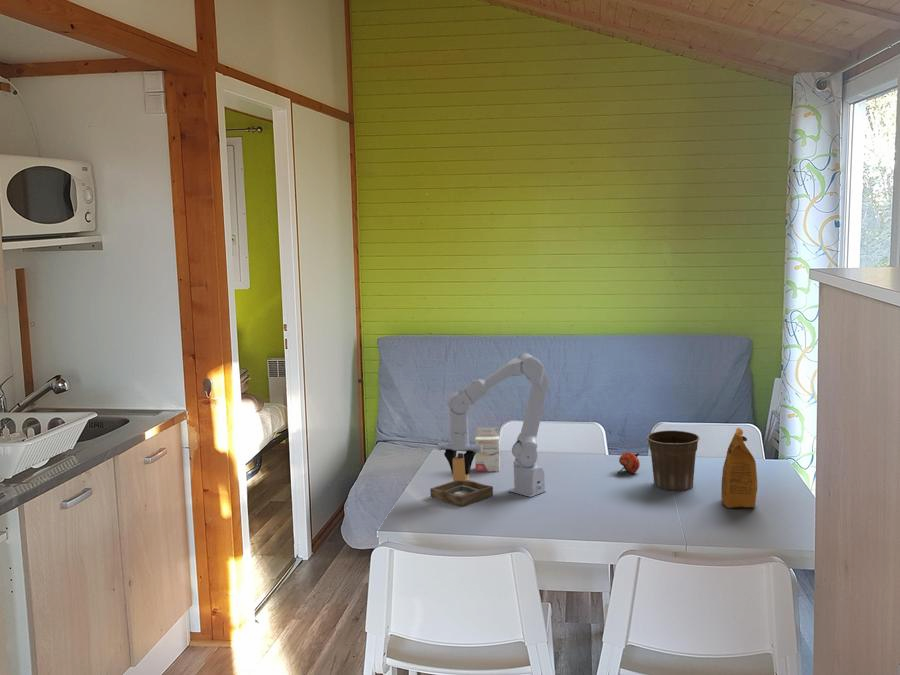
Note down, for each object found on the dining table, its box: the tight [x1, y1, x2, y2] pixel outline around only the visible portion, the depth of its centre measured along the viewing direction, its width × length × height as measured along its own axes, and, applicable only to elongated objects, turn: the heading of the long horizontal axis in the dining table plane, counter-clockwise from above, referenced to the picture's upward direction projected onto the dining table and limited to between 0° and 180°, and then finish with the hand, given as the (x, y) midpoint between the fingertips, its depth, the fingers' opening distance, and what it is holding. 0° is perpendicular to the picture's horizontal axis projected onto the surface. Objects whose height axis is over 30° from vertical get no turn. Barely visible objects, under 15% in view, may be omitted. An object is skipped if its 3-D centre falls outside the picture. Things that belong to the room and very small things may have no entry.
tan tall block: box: [452, 452, 470, 481], centre depth 269 cm, size 4×4×8 cm
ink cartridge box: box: [474, 427, 501, 472], centre depth 298 cm, size 9×5×15 cm, turn 84°
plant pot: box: [646, 430, 700, 492], centre depth 272 cm, size 16×16×16 cm
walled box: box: [429, 479, 494, 508], centre depth 270 cm, size 14×14×3 cm
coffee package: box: [720, 427, 758, 509], centre depth 252 cm, size 10×12×22 cm
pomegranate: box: [617, 452, 641, 475], centre depth 288 cm, size 7×7×10 cm
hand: (460, 473), depth 269 cm, fingers closed on tan tall block, 4 cm apart
